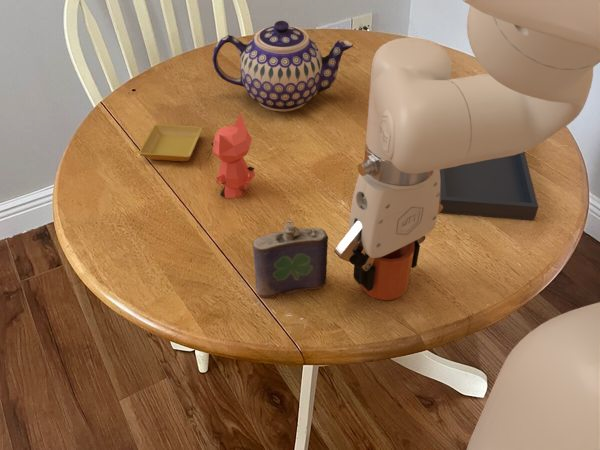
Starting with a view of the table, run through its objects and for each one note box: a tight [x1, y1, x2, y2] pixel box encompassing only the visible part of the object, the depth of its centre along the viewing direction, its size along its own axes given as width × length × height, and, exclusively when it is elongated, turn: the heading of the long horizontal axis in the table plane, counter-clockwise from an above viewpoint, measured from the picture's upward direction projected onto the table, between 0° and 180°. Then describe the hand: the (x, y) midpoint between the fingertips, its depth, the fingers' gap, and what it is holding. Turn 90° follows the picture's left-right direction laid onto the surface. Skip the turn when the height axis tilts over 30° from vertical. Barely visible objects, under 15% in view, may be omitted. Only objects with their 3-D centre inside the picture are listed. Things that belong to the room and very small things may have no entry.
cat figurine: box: [206, 113, 256, 199], centre depth 86 cm, size 7×7×12 cm
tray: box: [439, 151, 539, 221], centre depth 95 cm, size 30×14×3 cm, turn 173°
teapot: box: [211, 20, 354, 112], centre depth 105 cm, size 25×15×15 cm, turn 85°
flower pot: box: [360, 241, 415, 301], centre depth 73 cm, size 6×6×7 cm
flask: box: [252, 219, 329, 298], centre depth 72 cm, size 9×3×11 cm, turn 103°
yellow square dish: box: [138, 123, 204, 162], centre depth 97 cm, size 9×9×2 cm
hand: (385, 271), depth 74 cm, fingers closed on flower pot, 6 cm apart
